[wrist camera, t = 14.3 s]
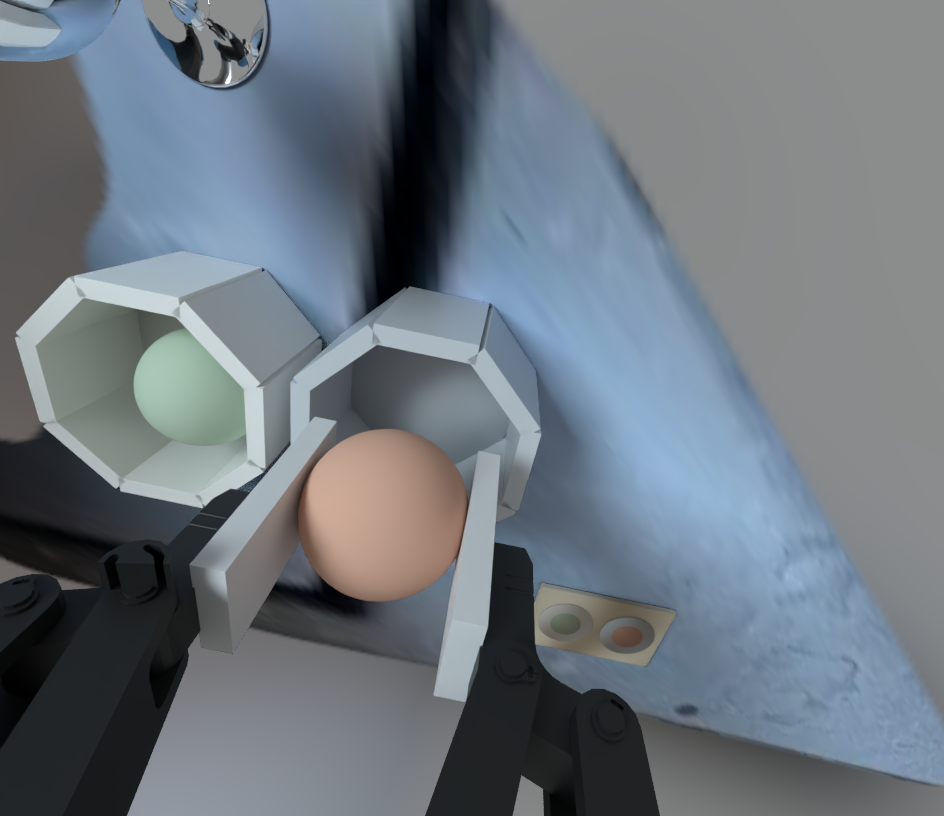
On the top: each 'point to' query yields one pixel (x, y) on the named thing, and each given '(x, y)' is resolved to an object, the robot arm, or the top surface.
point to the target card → (599, 624)
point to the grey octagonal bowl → (431, 384)
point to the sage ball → (188, 392)
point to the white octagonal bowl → (123, 344)
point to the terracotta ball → (382, 515)
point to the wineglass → (170, 21)
